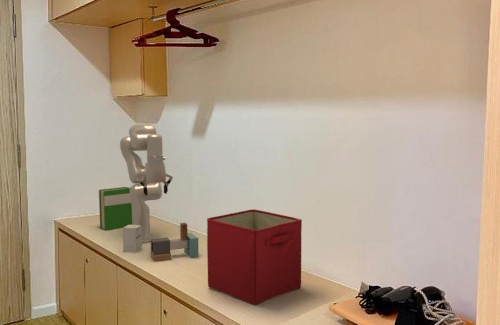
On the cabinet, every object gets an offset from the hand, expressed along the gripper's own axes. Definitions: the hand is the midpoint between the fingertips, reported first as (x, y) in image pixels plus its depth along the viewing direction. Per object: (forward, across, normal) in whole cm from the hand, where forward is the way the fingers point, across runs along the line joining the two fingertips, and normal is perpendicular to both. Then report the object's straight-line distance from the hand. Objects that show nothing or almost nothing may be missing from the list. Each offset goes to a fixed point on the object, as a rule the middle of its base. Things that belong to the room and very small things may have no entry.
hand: (155, 194), depth 256 cm
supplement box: (+31, +10, -12) cm, 34 cm away
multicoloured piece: (+26, -9, +8) cm, 29 cm away
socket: (+30, -15, +8) cm, 35 cm away
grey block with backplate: (+30, 0, +8) cm, 31 cm away
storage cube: (+31, -25, +65) cm, 76 cm away
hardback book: (+31, +10, -68) cm, 75 cm away
